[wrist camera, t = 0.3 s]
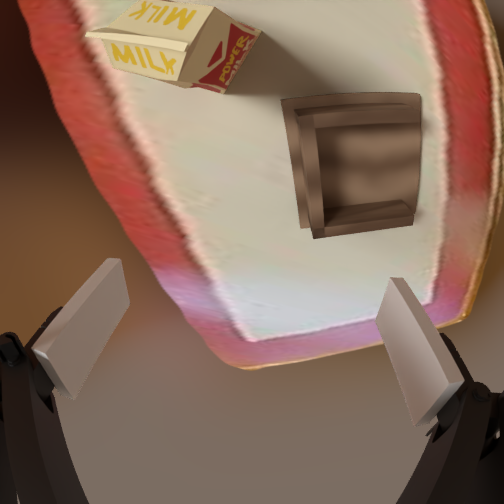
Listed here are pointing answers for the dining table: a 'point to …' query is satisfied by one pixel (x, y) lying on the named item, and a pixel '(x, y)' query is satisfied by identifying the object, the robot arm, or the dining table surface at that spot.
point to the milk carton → (178, 43)
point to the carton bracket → (354, 160)
